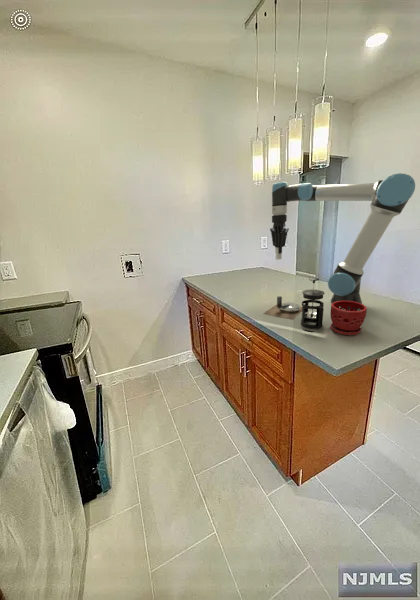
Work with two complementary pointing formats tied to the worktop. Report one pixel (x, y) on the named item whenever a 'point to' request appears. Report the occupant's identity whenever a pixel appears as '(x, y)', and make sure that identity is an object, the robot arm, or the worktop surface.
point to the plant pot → (347, 317)
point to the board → (282, 313)
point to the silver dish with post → (287, 306)
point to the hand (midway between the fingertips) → (278, 259)
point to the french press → (310, 315)
